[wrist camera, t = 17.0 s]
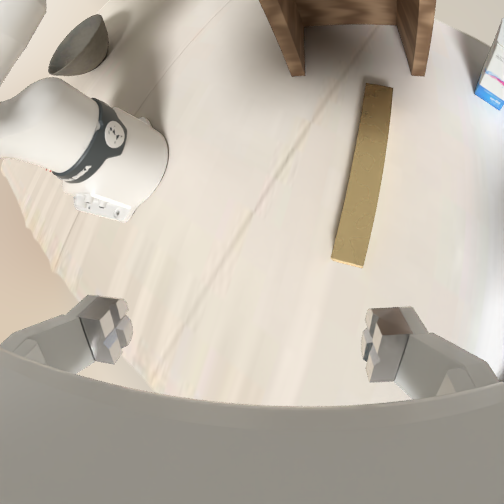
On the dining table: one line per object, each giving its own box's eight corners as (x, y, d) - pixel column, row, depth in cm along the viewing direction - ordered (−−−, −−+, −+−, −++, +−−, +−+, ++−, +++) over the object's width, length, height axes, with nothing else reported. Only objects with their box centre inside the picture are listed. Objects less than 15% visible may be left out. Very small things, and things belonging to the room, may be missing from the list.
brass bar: (365, 82, 32) (366, 98, 36) (330, 257, 32) (333, 261, 35) (393, 87, 31) (391, 103, 34) (363, 266, 30) (362, 268, 34)
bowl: (70, 71, 63) (47, 56, 54) (118, 26, 59) (97, 7, 49) (75, 104, 58) (47, 87, 48) (131, 50, 54) (105, 27, 44)
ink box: (500, 113, 28) (529, 66, 17) (473, 94, 30) (494, 42, 19) (509, 80, 27) (531, 34, 16) (483, 63, 29) (501, 14, 18)
